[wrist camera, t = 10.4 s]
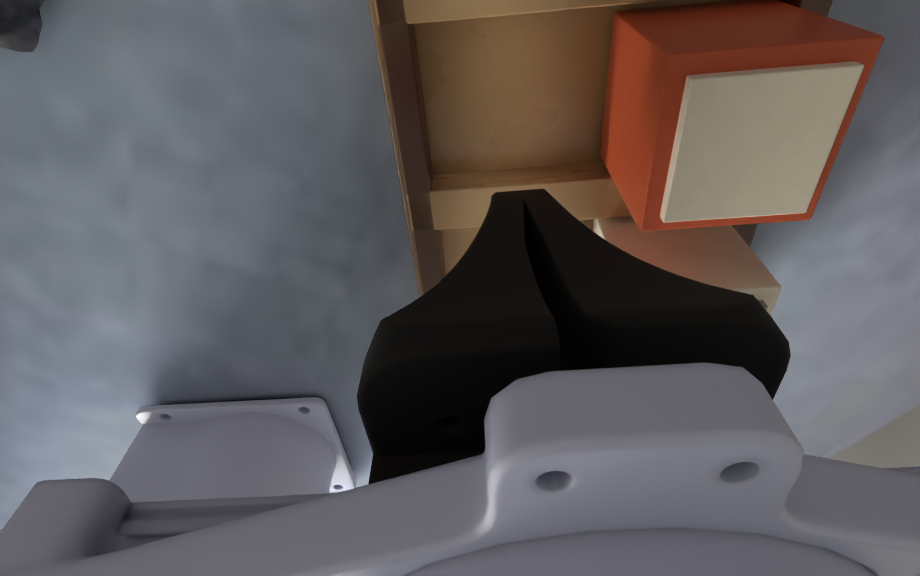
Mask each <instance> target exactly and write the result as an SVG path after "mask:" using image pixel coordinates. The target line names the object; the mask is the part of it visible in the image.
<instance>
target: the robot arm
mask: <svg viewBox="0 0 920 576" xmlns="http://www.w3.org/2000/svg"><path fill="white" fill-rule="evenodd" d="M790 356H791V355H790V348H789V342H788V340H787V339H786V337H785V336H784V334H783V333H782V332H781V330H780V329H779V327H778V326H777V324H776V323H775V322H774V320H773V319H772V317H771V316H770V314H769V313H768V312H767V311H766V309H765V308H764V307H763V306H762V304H761V303H760V302H759V301H758V300H757V299H756V298H755V297H754V295H751V294H747V293H742V292H738V291H734V290H730V289H725V288H721V287H717V286H713V285H709V284H705V283H702V282H698V281H695V280H692V279H689V278H686V277H683V276H680V275H677V274H674V273H672V272H669V271H666V270H664V269H661V268H659V267H656V266H654V265H652V264H650V263H647V262H645V261H643V260H641V259H639V258H636V257H634V256H632V255H630V254H629V253H627V252H625V251H623V250H622V249H620V248H618V247H616V246H614V245H613V244H611V243H609V242H608V241H606V240H605V239H603V238H602V237H600V236H599V235H598V234H596V233H595V232H593V231H592V230H591V229H589V228H588V227H587V226H585V225H584V224H583V223H581V222H580V221H579V220H578V219H577V218H575V217H574V216H573V215H572V214H571V213H570V212H568V211H567V210H566V209H565V208H564V207H563V206H562V205H561V204H560V203H559V202H558V201H557V200H556V199H555V198H554V197H553V196H552V195H550V194H549V193H548V192H547V191H546V190H545V189H531V190H518V191H505V192H495V193H494V194H493V195H492V196H491V202H490V206H489V209H488V212H487V214H486V217H485V219H484V221H483V223H482V225H481V227H480V229H479V231H478V233H477V235H476V236H475V238H474V240H473V241H472V243H471V245H470V246H469V248H468V249H467V251H466V252H465V253H464V255H463V256H462V257H461V259H460V260H459V261H458V262H457V264H456V265H455V266H454V267H453V268H452V270H451V271H450V272H449V273H448V274H447V275H446V276H445V277H444V278H443V279H442V280H441V281H440V282H439V283H438V284H437V285H435V286H434V287H433V288H432V289H430V290H429V291H428V292H427V293H425V294H424V295H422V296H421V297H419V298H418V299H417V300H415V301H414V302H412V303H411V304H409V305H407V306H405V307H404V308H402V309H400V310H398V311H397V312H395V313H393V314H391V315H390V316H388V317H386V318H384V319H382V320H381V321H380V323H379V325H378V327H377V330H376V332H375V334H374V337H373V339H372V341H371V344H370V347H369V349H368V352H367V354H366V357H365V360H364V364H363V368H362V373H361V378H360V383H359V388H358V393H357V401H358V409H359V412H360V415H361V418H362V421H363V424H364V427H365V430H366V433H367V436H368V439H369V442H370V445H371V448H372V451H373V459H372V465H371V472H370V478H369V485H365V486H361V487H357V488H356V483H357V482H356V478H355V476H354V473H353V471H352V468H351V466H350V463H349V460H348V458H347V455H346V453H345V450H344V448H343V445H342V443H341V440H340V438H339V435H338V432H337V430H336V427H335V425H334V422H333V420H332V417H331V415H330V412H329V410H328V407H327V404H326V403H325V401H324V400H322V399H320V398H316V397H310V398H291V399H271V400H251V401H232V402H212V403H192V404H172V405H153V406H142V407H140V408H139V410H138V411H137V413H136V417H137V419H138V420H139V421H140V423H141V424H142V425H143V426H142V428H141V429H140V431H139V433H138V434H137V436H136V438H135V439H134V441H133V443H132V444H131V446H130V447H129V449H128V451H127V452H126V454H125V456H124V457H123V459H122V461H121V462H120V464H119V466H118V467H117V469H116V471H115V472H114V474H113V476H112V477H111V479H110V481H108V480H105V479H97V478H86V479H65V480H44V481H40V482H37V483H36V484H35V485H34V487H33V488H32V489H31V491H30V492H29V494H28V495H27V496H26V498H25V499H24V500H23V502H22V503H21V505H20V506H19V507H18V509H17V510H16V511H15V513H14V514H13V516H12V517H11V518H10V520H9V521H8V522H7V524H6V525H5V527H4V528H3V529H2V531H1V532H0V576H920V467H901V468H877V467H872V466H866V465H860V464H855V463H850V462H844V461H839V460H833V459H827V458H822V457H816V456H811V455H805V454H803V448H802V446H801V445H800V443H799V442H798V440H797V438H796V437H795V435H794V434H793V432H792V430H791V429H790V427H789V426H788V424H787V422H786V421H785V419H784V418H783V416H782V414H781V413H780V411H779V410H778V408H777V406H776V405H775V403H774V402H773V398H774V396H775V394H776V392H777V390H778V388H779V385H780V383H781V381H782V379H783V377H784V375H785V373H786V370H787V367H788V363H789V360H790ZM334 491H342V492H338V493H329V492H334Z"/></svg>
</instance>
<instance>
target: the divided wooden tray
mask: <svg viewBox="0 0 920 576" xmlns="http://www.w3.org/2000/svg"><path fill="white" fill-rule="evenodd" d="M726 1H737V0H368V2H369V8H370V14H371V20H372V26H373V31H374V37H375V43H376V49H377V54H378V60H379V66H380V72H381V78H382V83H383V89H384V95H385V101H386V106H387V112H388V118H389V124H390V129H391V135H392V141H393V147H394V153H395V158H396V164H397V170H398V176H399V181H400V187H401V193H402V199H403V205H404V210H405V216H406V222H407V228H408V233H409V239H410V245H411V251H412V256H413V262H414V268H415V274H416V280H417V285H418V291H419V297H421V296H422V295H424V294H425V293H427V292H428V291H429V290H430V289H432V288H433V287H434V286H435V285H437V284H438V283H439V282H440V281H441V280H442V279H443V278H444V277H445V276H446V275H447V274H448V273H449V272H450V271H451V270H452V268H453V267H454V266H455V265H456V264H457V262H458V261H459V260H460V259H461V257H462V256H463V255H464V253H465V252H466V251H467V249H468V248H469V246H470V245H471V243H472V241H473V240H474V238H475V236H476V235H477V233H478V231H479V229H480V227H481V225H482V223H483V221H484V219H485V217H486V214H487V212H488V209H489V206H490V202H491V196H492V195H493V194H494V193H495V192H505V191H518V190H531V189H545V190H546V191H547V192H548V193H549V194H550V195H552V196H553V197H554V198H555V199H556V200H557V201H558V202H559V203H560V204H561V205H562V206H563V207H564V208H565V209H566V210H567V211H568V212H570V213H571V214H572V215H573V216H574V217H575V218H577V219H578V220H579V221H580V222H581V223H583V224H584V225H585V226H587V227H588V228H589V229H591V230H592V231H593V222H594V219H600V218H614V217H629V216H632V215H631V213H630V211H629V209H628V208H627V206H626V204H625V202H624V200H623V198H622V196H621V194H620V192H619V190H618V189H617V187H616V185H615V183H614V181H613V179H612V177H611V175H610V173H609V171H608V169H607V168H606V166H605V164H604V162H603V160H602V158H601V156H600V148H601V137H602V127H603V117H604V106H605V96H606V86H607V75H608V65H609V55H610V44H611V34H612V24H613V14H614V12H617V11H628V10H639V9H650V8H661V7H671V6H682V5H693V4H704V3H715V2H726ZM778 1H781V2H784V3H787V4H789V5H792V6H795V7H798V8H801V9H804V10H807V11H810V12H813V13H816V14H819V15H822V16H825V17H827V15H828V12H829V9H830V6H831V3H832V0H778ZM757 224H758V223H755V224H740V225H732V226H733V228H734V229H735V230H736V231H737V233H738V234H739V235H740V236H741V237H742V239H743V240H744V241H745V242H746V244H747V245H748V246H749V247H750V245H751V242H752V239H753V236H754V233H755V230H756V227H757Z"/></svg>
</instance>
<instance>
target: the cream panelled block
mask: <svg viewBox="0 0 920 576" xmlns="http://www.w3.org/2000/svg"><path fill="white" fill-rule="evenodd" d="M593 232H595V233H596V234H598V235H599V236H600V237H602V238H603V239H605V240H606V241H608V242H609V243H611V244H613V245H614V246H616V247H618V248H620V249H622V250H623V251H625V252H627V253H629V254H630V255H632V256H634V257H636V258H639V259H641V260H643V261H645V262H647V263H650V264H652V265H654V266H656V267H659V268H661V269H664V270H666V271H669V272H672V273H674V274H677V275H680V276H683V277H686V278H689V279H692V280H695V281H698V282H702V283H705V284H709V285H713V286H717V287H721V288H725V289H730V290H734V291H738V292H742V293H747V294H751V295H754V297H755V298H756V299H757V300H758V301H759V302H760V303H761V304H762V306H763V307H764V308H765V309H766V311H767V312H768V313H769V314H770V315H771V312H772V310H773V307H774V305H775V303H776V300H777V298H778V295H779V293H780V290H781V285H780V284H779V283H778V282H777V281H776V279H775V278H774V277H773V276H772V274H771V273H770V272H769V271H768V269H767V268H766V267H765V266H764V265H763V263H762V262H761V261H760V260H759V258H758V257H757V256H756V255H755V253H754V252H753V251H752V250H751V249H750V247H749V246H748V245H747V244H746V242H745V241H744V240H743V239H742V237H741V236H740V235H739V234H738V233H737V231H736V230H735V229H734V228H733V226H732V225H726V226H711V227H696V228H681V229H666V230H651V231H640V230H639V228H638V227H637V225H636V223H635V221H634V219H633V217H632V216H629V217H614V218H600V219H594V222H593Z"/></svg>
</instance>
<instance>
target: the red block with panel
mask: <svg viewBox="0 0 920 576" xmlns="http://www.w3.org/2000/svg"><path fill="white" fill-rule="evenodd" d="M883 40H884V36H882V35H879V34H876V33H873V32H870V31H867V30H864V29H861V28H858V27H855V26H852V25H849V24H846V23H843V22H840V21H837V20H834V19H831V18H828V17H825V16H822V15H819V14H816V13H813V12H810V11H807V10H804V9H801V8H798V7H795V6H792V5H789V4H787V3H784V2H781V1H778V0H737V1H726V2H715V3H704V4H693V5H682V6H671V7H661V8H650V9H639V10H628V11H617V12H614V14H613V24H612V34H611V44H610V55H609V65H608V75H607V86H606V96H605V106H604V117H603V127H602V137H601V148H600V156H601V158H602V160H603V162H604V164H605V166H606V168H607V169H608V171H609V173H610V175H611V177H612V179H613V181H614V183H615V185H616V187H617V189H618V190H619V192H620V194H621V196H622V198H623V200H624V202H625V204H626V206H627V208H628V209H629V211H630V213H631V215H632V217H633V219H634V221H635V223H636V225H637V227H638V228H639V230H640V231H651V230H666V229H681V228H696V227H711V226H726V225H740V224H755V223H770V222H785V221H800V220H809V219H810V218H811V216H812V214H813V211H814V209H815V206H816V204H817V202H818V199H819V197H820V194H821V192H822V189H823V187H824V184H825V182H826V180H827V177H828V175H829V172H830V170H831V167H832V165H833V162H834V160H835V158H836V155H837V153H838V150H839V148H840V145H841V143H842V140H843V138H844V136H845V133H846V131H847V128H848V126H849V123H850V121H851V118H852V116H853V114H854V111H855V109H856V106H857V104H858V101H859V99H860V96H861V94H862V91H863V89H864V87H865V84H866V82H867V79H868V77H869V74H870V72H871V69H872V67H873V65H874V62H875V60H876V57H877V55H878V52H879V50H880V47H881V45H882V43H883Z"/></svg>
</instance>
